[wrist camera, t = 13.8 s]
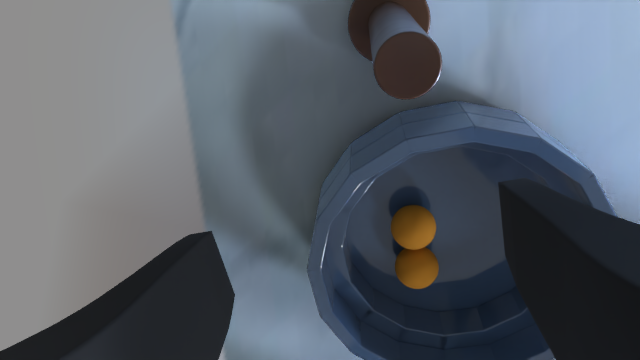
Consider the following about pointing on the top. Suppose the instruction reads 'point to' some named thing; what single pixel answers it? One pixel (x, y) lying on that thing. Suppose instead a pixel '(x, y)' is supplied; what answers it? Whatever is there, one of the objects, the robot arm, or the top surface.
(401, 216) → the bead
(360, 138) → the bowl
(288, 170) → the top surface
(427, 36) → the stick
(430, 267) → the bead
